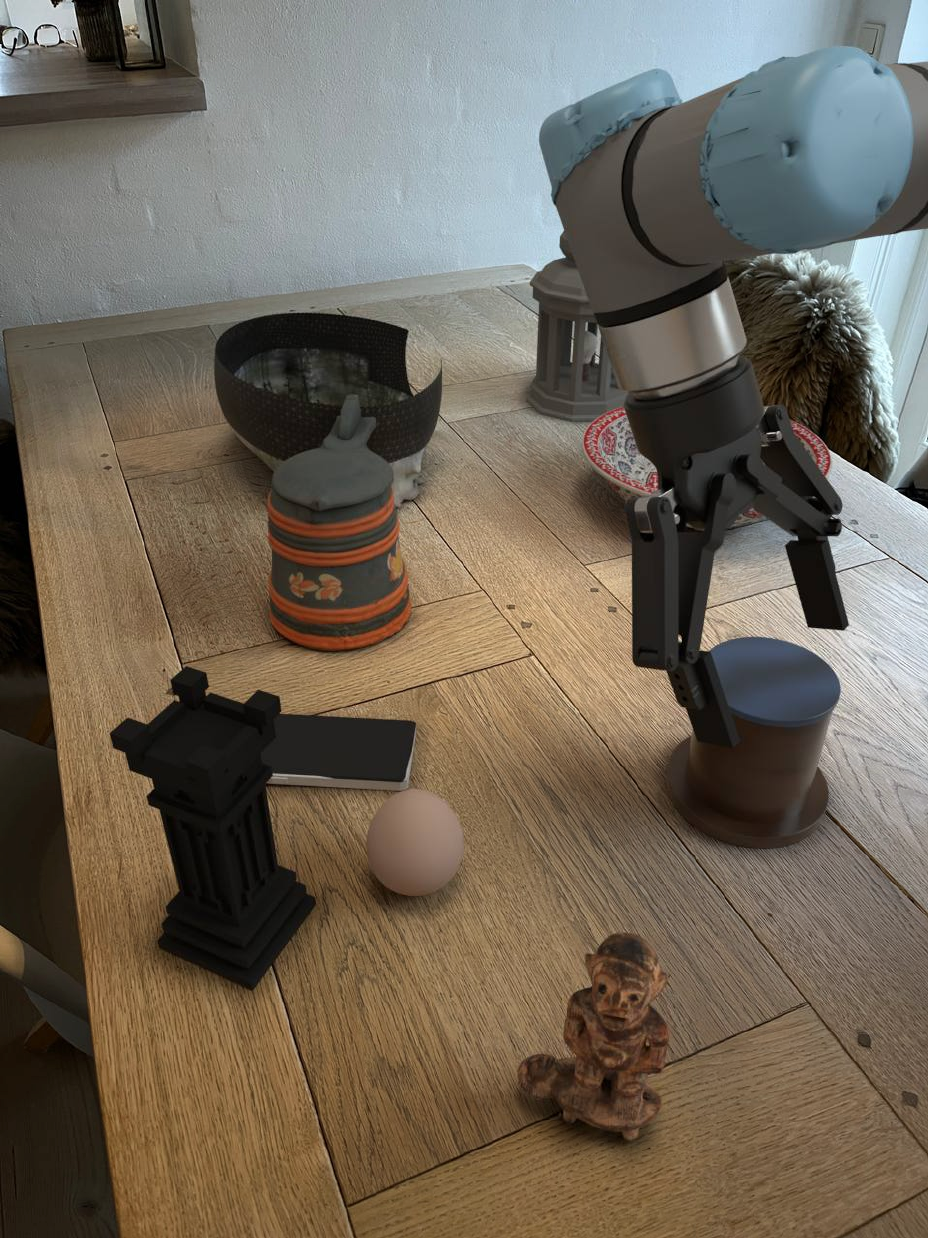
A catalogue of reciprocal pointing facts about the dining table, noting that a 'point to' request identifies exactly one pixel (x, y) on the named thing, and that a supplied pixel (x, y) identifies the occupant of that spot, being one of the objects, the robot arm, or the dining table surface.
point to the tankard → (336, 542)
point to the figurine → (608, 1042)
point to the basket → (324, 388)
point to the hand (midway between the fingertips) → (776, 681)
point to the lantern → (569, 348)
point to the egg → (414, 843)
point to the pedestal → (761, 748)
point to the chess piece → (217, 828)
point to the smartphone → (341, 752)
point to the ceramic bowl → (637, 477)
